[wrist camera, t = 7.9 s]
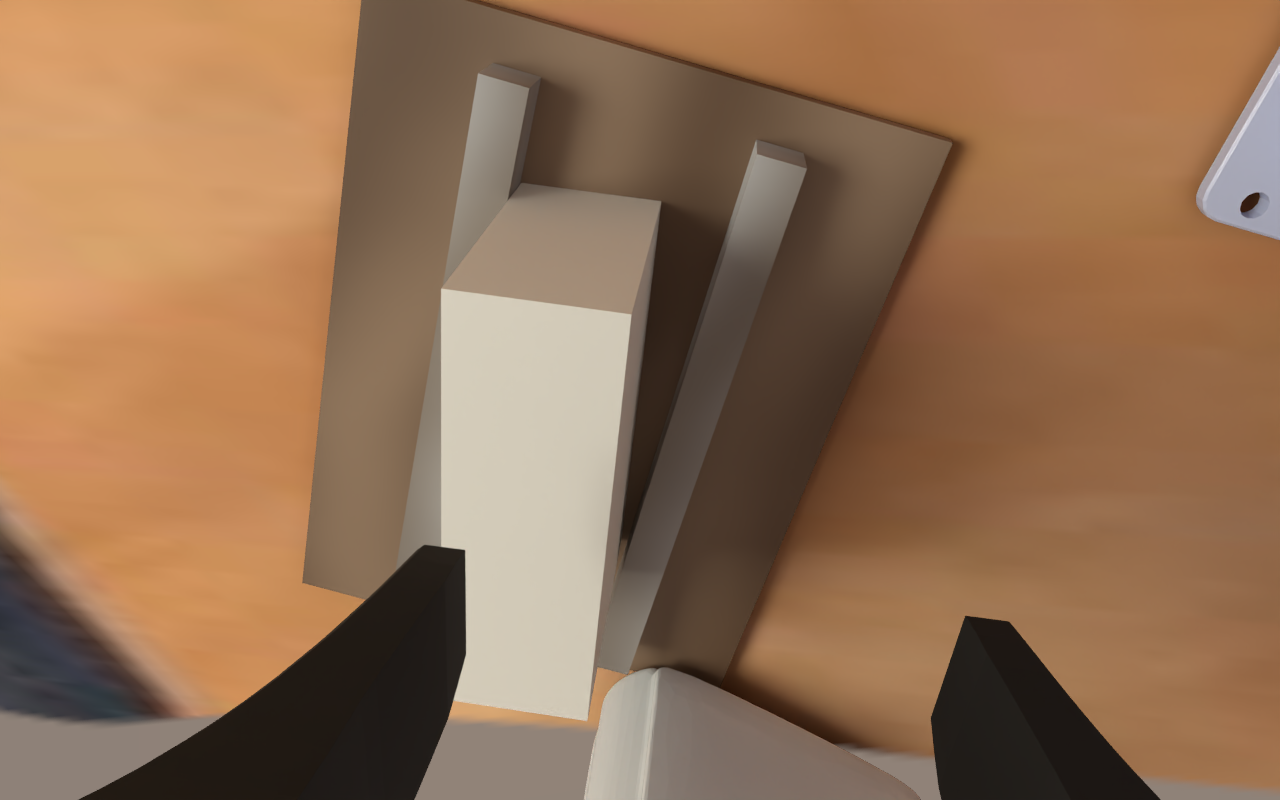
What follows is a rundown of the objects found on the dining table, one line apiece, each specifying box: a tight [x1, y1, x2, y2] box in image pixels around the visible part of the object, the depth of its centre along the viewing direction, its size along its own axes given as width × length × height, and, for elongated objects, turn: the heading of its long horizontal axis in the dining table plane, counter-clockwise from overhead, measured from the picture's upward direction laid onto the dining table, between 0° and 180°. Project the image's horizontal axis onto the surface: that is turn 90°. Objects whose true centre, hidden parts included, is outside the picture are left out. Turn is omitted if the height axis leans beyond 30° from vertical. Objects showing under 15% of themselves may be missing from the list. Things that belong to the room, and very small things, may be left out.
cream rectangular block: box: [441, 183, 661, 721], centre depth 19 cm, size 3×9×6 cm, turn 174°
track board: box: [302, 0, 953, 688], centre depth 22 cm, size 12×16×2 cm
